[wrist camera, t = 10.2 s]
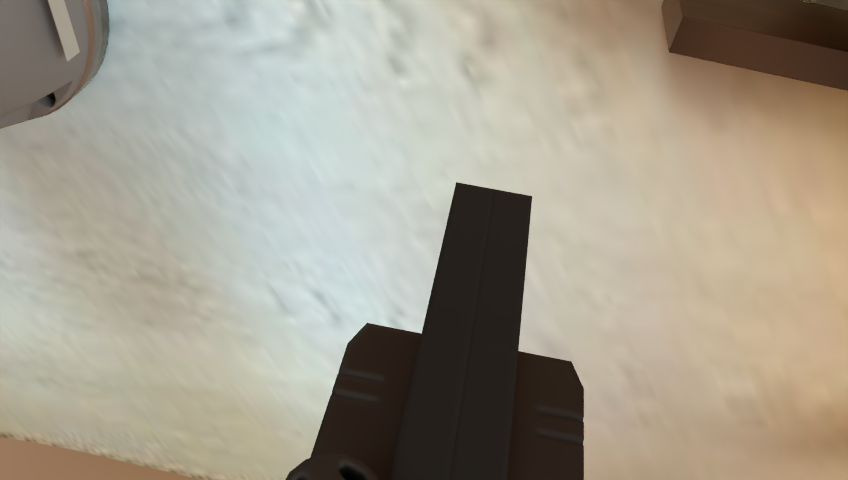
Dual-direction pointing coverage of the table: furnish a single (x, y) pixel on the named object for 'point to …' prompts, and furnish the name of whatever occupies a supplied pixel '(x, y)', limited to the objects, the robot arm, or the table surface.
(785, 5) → the corner fence
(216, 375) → the table surface
